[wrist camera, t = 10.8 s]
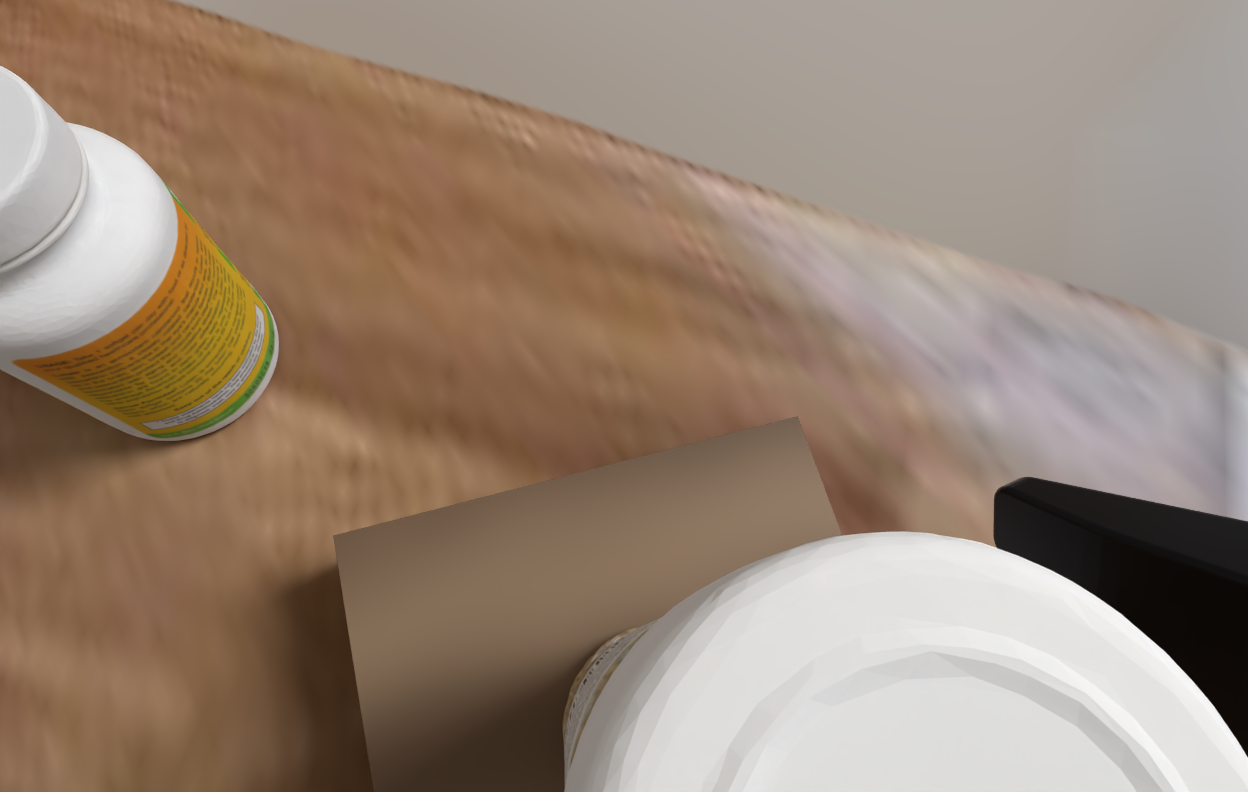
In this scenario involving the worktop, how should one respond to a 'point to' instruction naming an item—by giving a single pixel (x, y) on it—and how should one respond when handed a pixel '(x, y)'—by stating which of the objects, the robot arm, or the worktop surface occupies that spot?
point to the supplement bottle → (118, 284)
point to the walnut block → (548, 597)
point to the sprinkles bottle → (893, 684)
